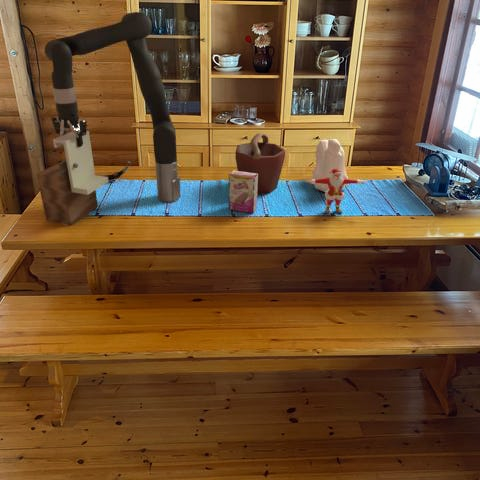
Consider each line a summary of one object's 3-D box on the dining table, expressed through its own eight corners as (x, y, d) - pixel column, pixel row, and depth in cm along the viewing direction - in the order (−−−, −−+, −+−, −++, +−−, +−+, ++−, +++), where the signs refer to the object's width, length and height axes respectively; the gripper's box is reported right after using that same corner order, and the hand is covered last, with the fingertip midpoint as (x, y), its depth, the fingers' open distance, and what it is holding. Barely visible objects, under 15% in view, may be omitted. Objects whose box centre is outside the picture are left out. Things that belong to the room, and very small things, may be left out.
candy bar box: (228, 210, 202) (228, 173, 194) (232, 205, 206) (232, 169, 198) (253, 214, 199) (254, 177, 191) (257, 209, 203) (258, 173, 195)
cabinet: (98, 207, 203) (90, 150, 191) (71, 225, 188) (60, 165, 176) (74, 203, 206) (64, 147, 194) (46, 221, 191) (34, 161, 179)
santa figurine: (303, 214, 200) (307, 171, 191) (302, 208, 205) (305, 166, 196) (363, 214, 200) (370, 172, 191) (360, 208, 205) (366, 167, 196)
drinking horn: (71, 179, 231) (68, 159, 226) (133, 179, 232) (132, 159, 228) (68, 183, 226) (64, 163, 222) (132, 183, 227) (130, 163, 223)
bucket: (266, 201, 211) (268, 146, 199) (223, 191, 220) (223, 138, 208) (289, 183, 229) (292, 132, 217) (248, 175, 239) (250, 125, 227)
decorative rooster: (350, 197, 216) (357, 143, 204) (315, 197, 215) (320, 143, 204) (338, 177, 238) (344, 127, 226) (306, 177, 237) (311, 127, 226)
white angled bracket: (108, 181, 192) (102, 132, 183) (87, 194, 181) (79, 143, 171) (84, 178, 196) (76, 129, 186) (62, 190, 184) (52, 139, 174)
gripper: (88, 99, 174) (95, 145, 182) (55, 96, 178) (63, 140, 186) (76, 104, 168) (83, 150, 176) (42, 100, 172) (50, 146, 180)
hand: (73, 145), depth 181 cm, fingers closed on white angled bracket, 5 cm apart
